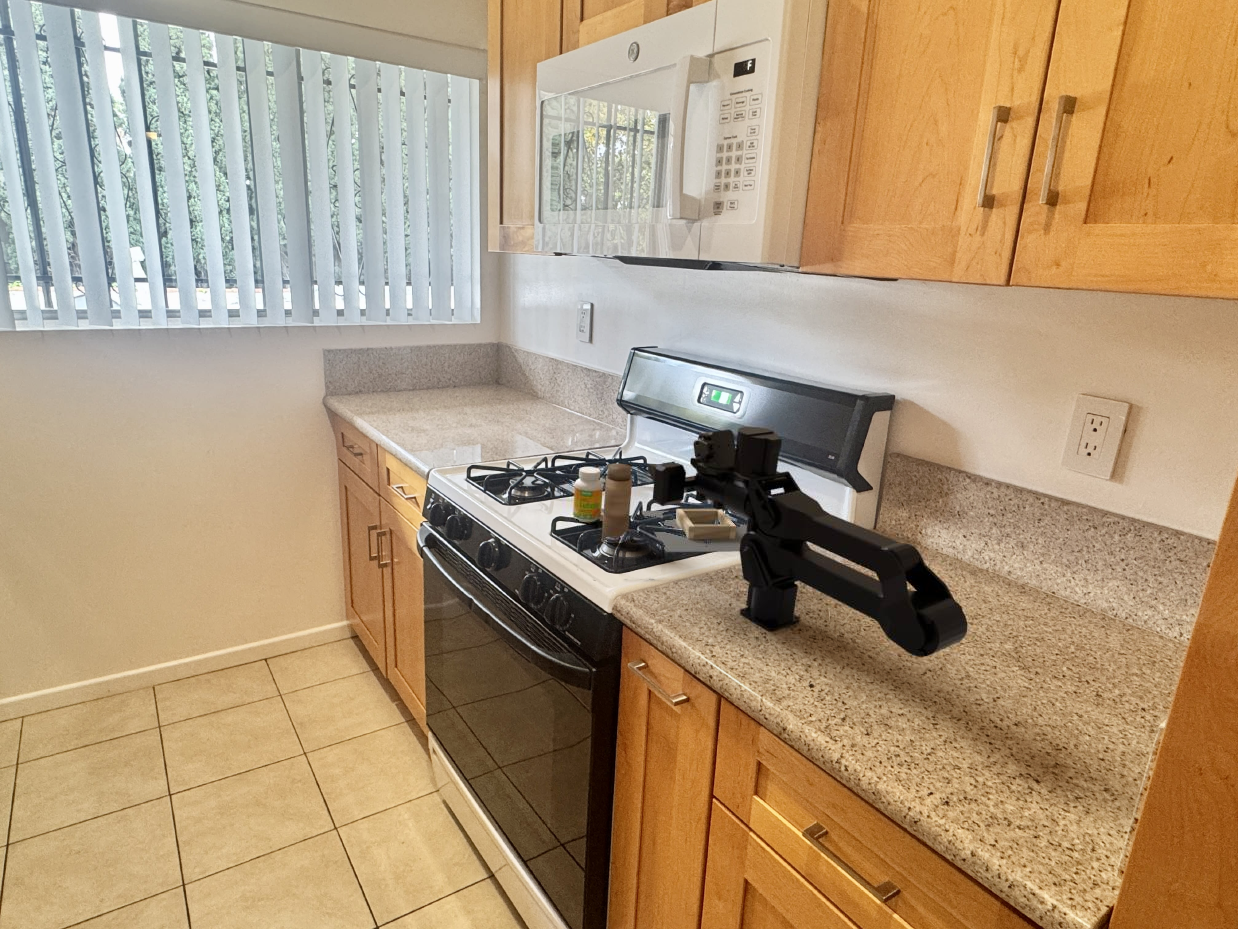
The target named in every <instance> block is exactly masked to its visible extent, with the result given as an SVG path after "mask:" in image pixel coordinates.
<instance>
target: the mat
mask: <svg viewBox="0 0 1238 929" xmlns="http://www.w3.org/2000/svg"><path fill="white" fill-rule="evenodd" d="M668 511H669V510H641V514H643V516H644V517H645V516H650V515H651V516H654V517H655V516H656V517H660V518H663V515H662V514H663V513H664V512H668ZM692 524H712V523H692ZM664 525H666V526H672V527H674V528H677V529H680V527H679V526H678V524H677V523H676V521H675V519H673V520H665V522H664ZM746 530H747V525H745V524H744V525H743V524H741V525H740V527H738V528H736V534H735V539H712V540H711V541H708V542H711V543H709V544H708V542H707V544H706V543H704V542H705V541H702V542H701V541H700V540H699V539H687V538H686V537H685V538H684V537H682V536H678V535H674V534H671V533H666V532H654V531H653V533H654V535H655V536H656V538H657V539H659V540H660V541H662V542H663V543H664V545H665V547H664V548H663V549H664V551H665V553H702V552H705V553H706V552H707V553H710V552H711V553H713V552H715V553H717V552H718V553H719V552H740V543H741V539H742V537H743V536H744V534H746V533H747V531H746ZM659 540H658V541H659ZM660 541H659V542H660ZM706 546H707V547H706Z"/></svg>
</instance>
